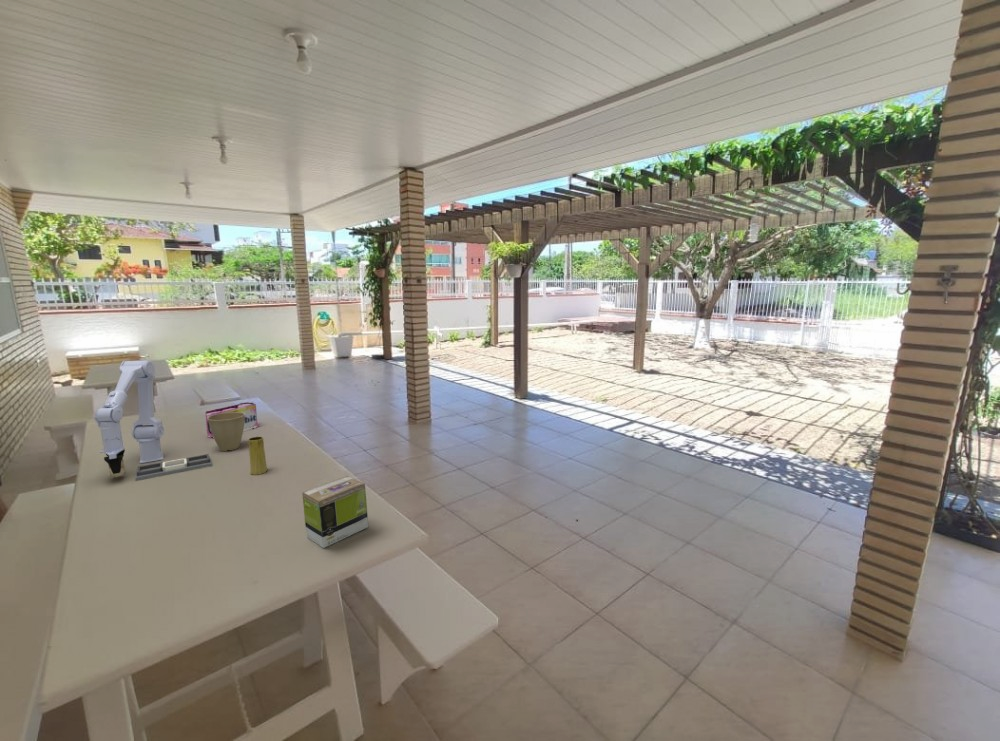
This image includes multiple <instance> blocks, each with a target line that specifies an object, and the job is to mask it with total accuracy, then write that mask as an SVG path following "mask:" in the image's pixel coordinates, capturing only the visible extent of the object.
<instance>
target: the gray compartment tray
mask: <svg viewBox="0 0 1000 741" xmlns="http://www.w3.org/2000/svg"><path fill="white" fill-rule="evenodd" d="M207 466H209V467H213V461H212V458H211V456H210V454H209V453H207V454H201V455H196V456H195V455H194V456H190V457H184V458H179V459H173V460H172V459H171V460H168V461H163V462H157V463H156V462H155V463H151V464H145V465H139V466H137V468H136V471H135V472H136V473H135V481H141V480H146V479H151V478H157V477H156V476H158V477H162V476H161V475H163V476H167V474H168V475H172V473H173V474H178V473H182V471H183V472H187V471H188V470H189V471H193V470H192V469H194V470H198V469H197V468H199V469H203V468H202V467H204V468H208V467H207ZM177 472H178V473H177Z"/></svg>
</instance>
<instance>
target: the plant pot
mask: <svg viewBox="0 0 1000 741" xmlns="http://www.w3.org/2000/svg"><path fill="white" fill-rule="evenodd" d="M207 419H208V423H209V426H210V429H211V432H212V435H213V437H214V438H213V440H214V442H215V443H216V445H217V447H218V449H219V450H220V451H221V450H222V452H228V451H227V450H232V451H234V450H233V449H235V450H237V449H236V448H238V447H240V444H241V443H242V442H241V441H242V438H243V435H244V434H243V433H244V432H243V429H244V422H245V413H241V412H229V413H221V414H216V415H212V416H209V417H208V418H207ZM238 449H239V448H238Z"/></svg>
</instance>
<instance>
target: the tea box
mask: <svg viewBox="0 0 1000 741" xmlns="http://www.w3.org/2000/svg"><path fill="white" fill-rule="evenodd" d="M302 503H303V513H304V523H305V524H304V525H305V533H306V537H307V538H308V539H310V541H312V542H314V543H315V544H317V545H318V546H320V547H321V548H323V549H325V548H327V547H329V546H331V545H333V544H336V543H338V542H340V541H342V540H344V539H346V538H348V537H350V536H352V535H355V534H356V533H359V532H361V531H363V530H366V529H368V528H369V516H368V506H367V504H368V503H367V493H366V484H365V482H363V481H361V480H357V479H355V478H353V477H350V476H348V475H346V476H343V477H339V478H338V479H334V480H332V481H329V482H326V483H323V484H321V485H318V486H316V487H312V488H310V489H308V490H305V491H302Z"/></svg>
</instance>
